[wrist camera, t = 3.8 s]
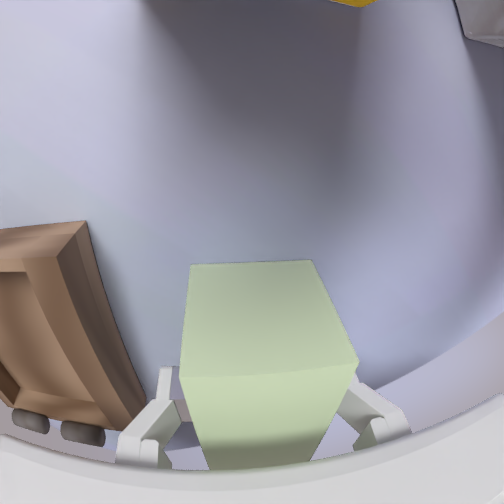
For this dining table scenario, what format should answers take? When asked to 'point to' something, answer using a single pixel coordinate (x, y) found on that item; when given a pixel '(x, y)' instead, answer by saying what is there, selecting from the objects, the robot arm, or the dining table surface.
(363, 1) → the medicine bottle
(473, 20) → the coffee box
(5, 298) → the wooden footed tray
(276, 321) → the pale green box
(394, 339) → the dining table surface
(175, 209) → the dining table surface
